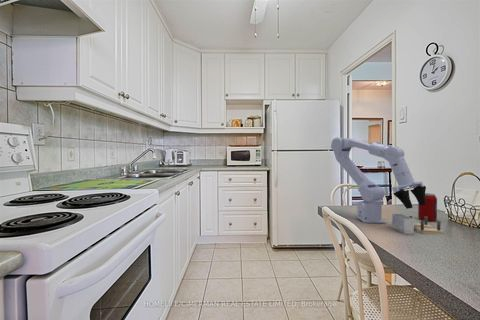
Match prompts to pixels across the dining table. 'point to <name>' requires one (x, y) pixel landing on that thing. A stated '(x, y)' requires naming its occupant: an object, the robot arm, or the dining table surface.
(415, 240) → the dining table surface
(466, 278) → the dining table surface
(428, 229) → the caddy
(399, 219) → the drive
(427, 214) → the beverage can
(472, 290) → the dining table surface
